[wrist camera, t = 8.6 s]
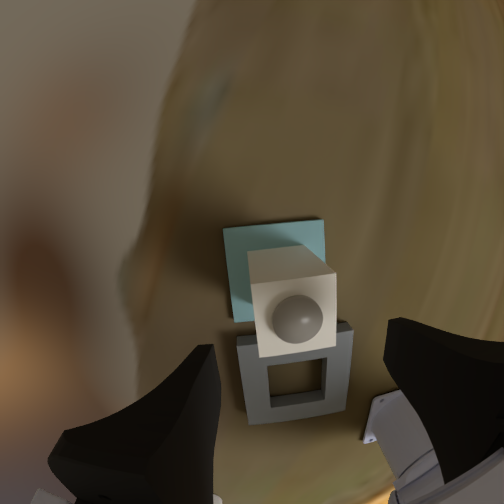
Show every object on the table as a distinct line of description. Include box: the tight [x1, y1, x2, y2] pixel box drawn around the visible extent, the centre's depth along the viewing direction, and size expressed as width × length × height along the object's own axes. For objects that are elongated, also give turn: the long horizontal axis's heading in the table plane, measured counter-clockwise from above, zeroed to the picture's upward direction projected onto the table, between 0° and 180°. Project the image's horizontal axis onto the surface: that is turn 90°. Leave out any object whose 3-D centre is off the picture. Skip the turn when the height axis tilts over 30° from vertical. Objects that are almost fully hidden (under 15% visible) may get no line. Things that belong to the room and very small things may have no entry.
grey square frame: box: [237, 322, 353, 425], centre depth 22 cm, size 9×9×2 cm
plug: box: [247, 245, 336, 358], centre depth 16 cm, size 4×4×7 cm
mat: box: [223, 219, 325, 323], centre depth 20 cm, size 7×7×1 cm
